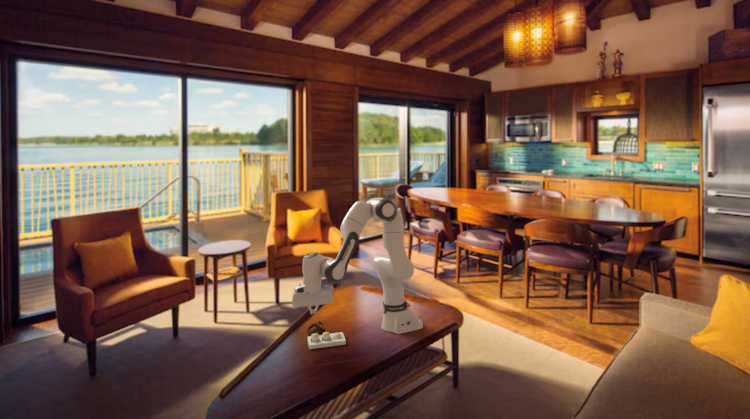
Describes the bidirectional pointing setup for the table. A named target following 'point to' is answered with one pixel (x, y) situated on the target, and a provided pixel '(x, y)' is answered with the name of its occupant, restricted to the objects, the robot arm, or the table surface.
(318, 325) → the pottery mug
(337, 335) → the button
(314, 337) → the button
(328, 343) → the button board
